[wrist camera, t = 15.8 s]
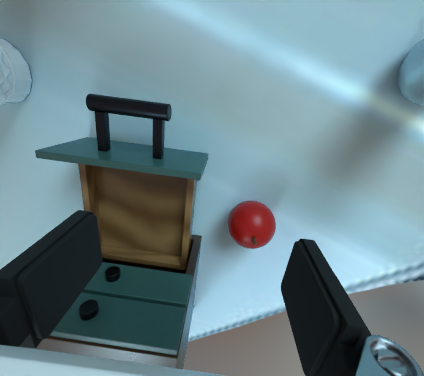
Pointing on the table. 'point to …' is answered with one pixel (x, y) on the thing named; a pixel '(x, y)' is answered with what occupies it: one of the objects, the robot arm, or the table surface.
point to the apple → (251, 224)
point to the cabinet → (131, 313)
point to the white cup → (13, 75)
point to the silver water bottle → (413, 75)
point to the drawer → (136, 186)
